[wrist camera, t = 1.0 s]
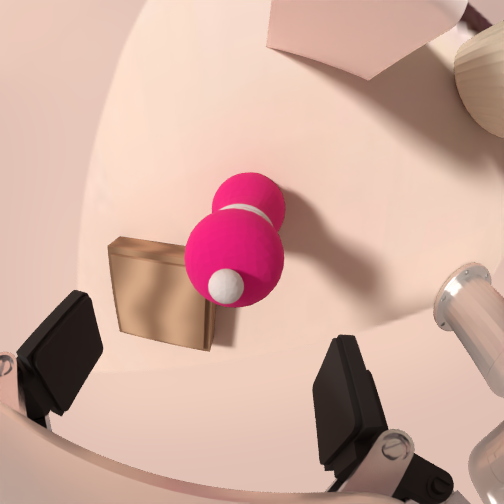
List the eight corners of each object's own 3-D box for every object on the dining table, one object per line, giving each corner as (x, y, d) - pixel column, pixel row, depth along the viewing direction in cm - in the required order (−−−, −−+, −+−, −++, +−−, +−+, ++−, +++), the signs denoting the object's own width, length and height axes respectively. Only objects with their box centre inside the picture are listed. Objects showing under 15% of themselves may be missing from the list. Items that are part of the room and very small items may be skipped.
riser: (220, 251, 34) (214, 265, 30) (213, 336, 40) (208, 354, 36) (119, 236, 34) (105, 248, 30) (128, 318, 40) (118, 333, 36)
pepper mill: (285, 227, 32) (300, 348, 14) (224, 231, 33) (172, 349, 15) (280, 165, 29) (298, 216, 11) (216, 171, 30) (136, 229, 12)
